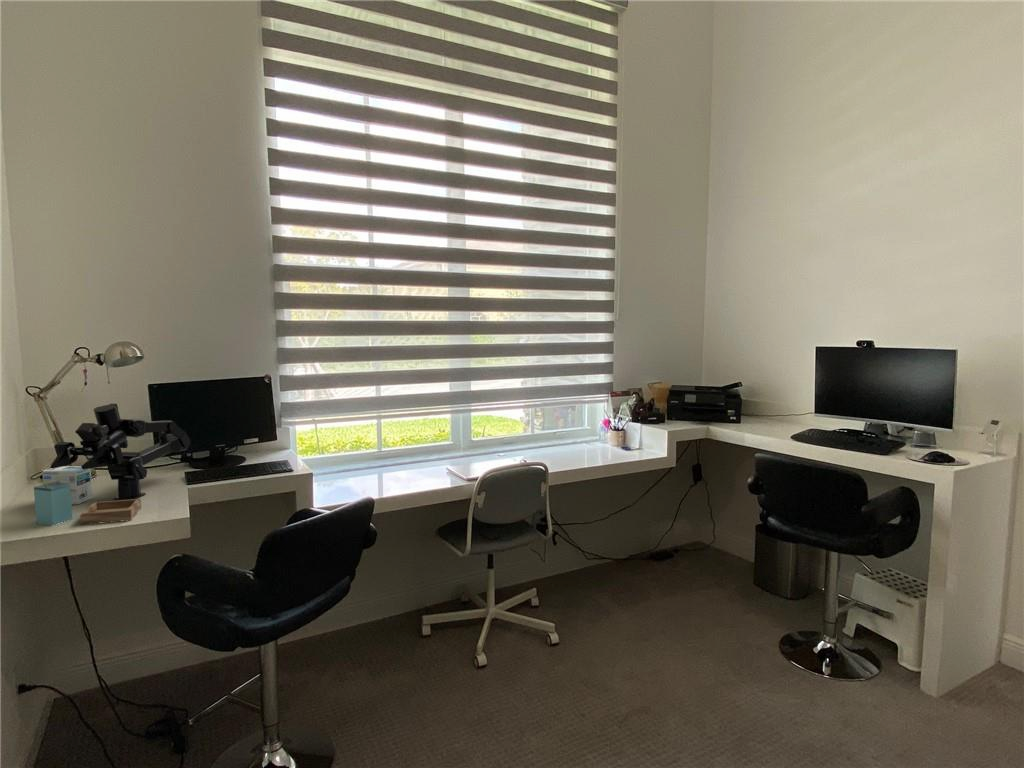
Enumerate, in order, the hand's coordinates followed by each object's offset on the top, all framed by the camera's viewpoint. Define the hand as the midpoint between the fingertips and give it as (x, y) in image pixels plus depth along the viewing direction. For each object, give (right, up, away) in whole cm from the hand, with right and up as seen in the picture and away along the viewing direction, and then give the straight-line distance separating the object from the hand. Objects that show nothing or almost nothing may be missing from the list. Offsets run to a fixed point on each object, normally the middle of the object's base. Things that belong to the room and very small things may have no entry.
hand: (67, 467), depth 165 cm
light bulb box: (-14, -14, +20) cm, 28 cm away
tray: (+9, -15, +6) cm, 18 cm away
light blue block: (-4, -15, +1) cm, 16 cm away
